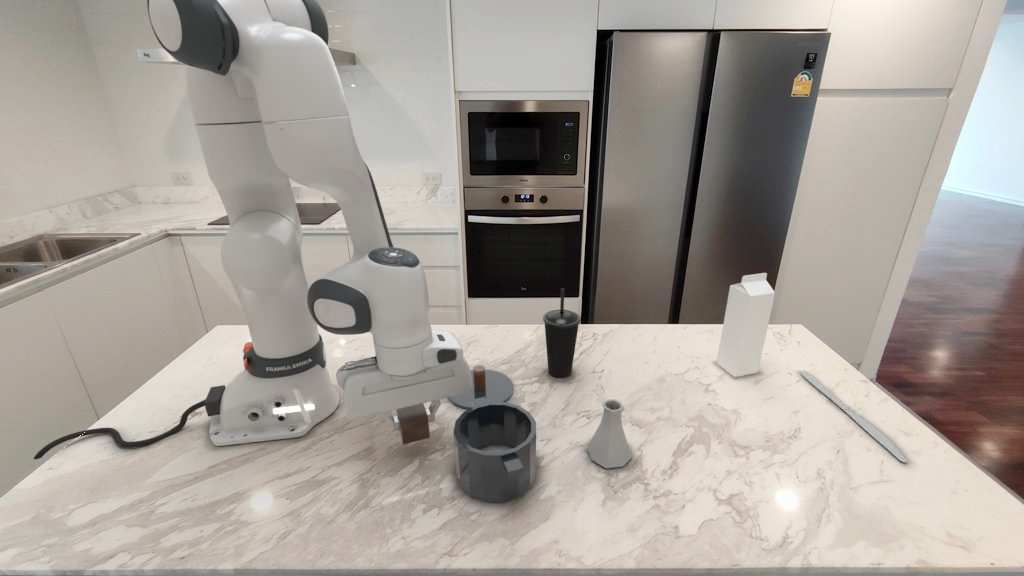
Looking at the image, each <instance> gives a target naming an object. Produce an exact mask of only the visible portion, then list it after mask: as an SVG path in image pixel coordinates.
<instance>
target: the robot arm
mask: <svg viewBox="0 0 1024 576" xmlns="http://www.w3.org/2000/svg"><path fill="white" fill-rule="evenodd" d="M146 4H147V5H146V6H147V12H148V17H149V22H150V26H151V28H152V31H153V34H154V35H155V38H156V39H157V41H158V43H159V45H160V46H161V47H162V48H163V50H164V51H165V52H166V53H167V54H169V56H171V57H172V58H173V59H174V60H176V61H177V62H179V63H181V64H184V65H185V77H186V87H187V95H188V99H189V105H190V110H191V114H192V119H193V123H194V127H195V131H196V134H197V137H198V141H199V144H200V148H201V152H202V156H203V160H204V163H205V166H206V170H207V174H208V177H209V179H210V181H211V182H212V184H213V185H214V187H215V189H216V192H217V193H218V196H219V198H220V200H221V203H222V205H223V208H224V209H225V213H226V215H227V218H228V222H229V230H228V231H227V232H226V234H225V236H224V237H223V240H222V242H221V247H220V257H221V264H222V268H223V270H224V271H223V272H224V273H225V275H226V276H227V278H228V279H229V281H230V283H231V285H232V288H233V290H234V292H235V295H236V297H237V299H238V301H239V303H240V305H241V307H242V311H243V313H244V317H245V321H246V324H247V327H248V332H249V335H250V339H251V341H248V342H247V341H246V342H245V344H244V345H243V349H242V352H243V358H242V361H243V368H244V369H243V370H242V371H241V372H240V373H238V374H237V375H236V376H235V377H234V378H233V379H231V380H230V381H229V383H227V385H225V384H222V385H216V386H211V387H210V388H209V391H208V393H207V395H206V397H205V399H203V400H201V401H199V402H197V403H194V404H192V405H191V406H189V407H188V408H187V409H186V410H185V411H184V412H183V413H182V415H181V417H180V421H179V423H178V424H177V425H175V426H174V427H172V428H171V429H170V430H168V431H165V432H163V433H161V434H159V435H157V436H153V437H151V438H147V439H143V440H136V441H126V440H124V439H123V438H122V436H121V434H120V432H119V431H118V430H117V429H115V428H113V427H98V428H91V429H85V430H80V431H76V432H72V433H70V434H66V435H63V436H61V437H59V438H57V439H54V440H53V441H50V442H49V443H48V444H46V445H44V447H42V448H40V450H39V451H38V452H37V453H36V454H35V456H34V457H33V460H39V459H40V458H43V457H44V455H46V454H47V453H48V452H49V451H51V450H52V449H54V448H55V447H57V446H59V445H61V444H63V443H65V442H68V441H70V440H73V439H77V438H81V437H85V436H91V435H97V434H109V435H111V436H112V437H113V439H114V442H115V443H116V445H118V446H119V447H121V448H127V449H129V448H138V447H143V446H147V445H148V446H149V445H152V444H155V443H157V442H159V441H162V440H164V439H166V438H169V437H170V436H172V435H174V434H176V433H178V432H179V431H180V430H182V429H183V428H184V427H185V426H186V425H187V422H188V418H189V416H190V415H191V414H192V413H193V412H195V411H197V410H199V409H200V408H203V407H204V408H205V411H206V415H207V417H212V418H211V421H210V423H209V431H208V433H209V438H210V442H211V443H212V444H213V445H214V446H216V447H223V446H232V445H242V444H251V443H259V442H268V441H277V440H278V441H279V440H285V439H295V438H301V437H303V436H305V435H307V434H308V433H309V432H310V431H311V430H312V429H313V427H314V426H315V425H317V424H319V423H321V422H322V421H324V420H325V419H327V418H328V417H329V416H330V415H332V414H334V412H335V411H336V409H337V408H338V406H339V404H340V401H341V396H340V394H339V392H338V391H337V389H336V387H335V385H334V383H333V381H332V379H331V376H330V374H329V373H330V372H329V371H328V368H327V359H328V358H327V353H326V348H325V343H324V342H323V337H322V335H321V333H320V332H319V329H318V326H319V327H320V328H321V329H322V330H323V331H326V332H327V333H330V334H333V335H339V336H350V335H351V336H353V335H362V334H366V333H370V334H371V335H372V341H373V347H374V354H375V356H370V357H366V358H362V359H358V360H349V361H347V362H345V363H344V365H342V366H340V367H339V368H338V369H337V371H336V375H335V377H336V383H337V385H338V387H339V388H340V389H342V391H343V392H342V393H343V394H342V395H343V407H344V414H345V416H346V417H347V418H349V419H350V420H357V419H360V418H365V417H370V416H375V415H379V414H381V416H382V418H383V419H384V420H385V421H386V422H387V423H388V424H389V425H390V430H391V432H396V431H397V432H398V431H400V422H399V418H398V416H397V415H394V416H393V414H392V411H397V409H401V408H405V407H409V406H414V405H418V404H422V403H423V404H425V403H430V405H429V406H428V408H425V409H426V412H427V415H428V423H433V422H436V413H437V411H439V408H440V407H441V404H442V403H441V400H444V399H448V397H453V396H457V395H461V394H466V393H468V392H469V391H470V389H471V388H472V378H471V373H470V371H471V369H470V365H469V363H468V361H467V359H466V357H465V355H464V350H463V346H462V344H461V342H460V340H459V338H458V337H457V336H456V335H455V334H454V332H452V331H446V330H437V329H432V326H431V323H430V321H429V311H430V298H429V291H428V283H427V278H426V274H425V270H424V266H423V263H422V262H421V260H420V258H419V257H418V255H416V254H415V253H414V252H412V251H410V250H408V249H405V248H402V247H395V246H394V244H393V242H392V239H391V235H390V231H389V229H388V225H387V221H386V218H385V215H384V211H383V209H382V204H381V201H380V196H379V194H378V190H377V188H376V187H377V186H376V184H375V181H374V178H373V176H372V173H371V171H370V169H369V166H368V165H367V163H366V162H365V160H364V159H363V157H362V155H361V152H360V150H359V147H358V144H357V141H356V138H355V134H354V130H353V126H352V122H351V116H350V112H349V107H348V103H347V100H346V96H345V91H344V88H343V85H342V82H341V77H340V75H339V72H338V69H337V66H336V64H335V61H334V58H333V55H332V53H331V51H330V48H329V46H328V44H329V39H330V36H329V26H328V25H329V24H328V22H327V18H326V14H325V12H324V10H323V8H322V6H321V4H320V3H319V2H318V0H146ZM290 180H292V181H293V182H295V183H297V184H299V185H301V186H304V187H306V188H309V189H313V190H316V191H319V192H320V191H321V192H323V193H325V194H327V195H328V196H330V197H331V198H333V200H334V201H335V202H336V203H337V205H338V206H339V208H340V210H341V211H340V212H341V213H342V216H343V217H342V218H343V220H344V223H345V225H346V229H347V231H348V235H349V238H350V241H351V244H352V249H353V251H352V256H351V258H350V260H349V261H347V262H346V263H344V264H342V265H340V266H338V267H336V268H334V269H332V270H330V271H329V272H327V273H326V274H323V275H321V276H320V277H318V278H317V279H316V280H315V281H313V283H312V284H311V285H310V286H309V285H308V281H307V277H306V272H305V268H304V264H303V258H302V245H303V244H302V243H303V236H304V232H303V227H302V222H301V219H300V214H299V210H298V206H297V203H296V199H295V195H294V191H293V188H292V184H291V181H290ZM84 432H85V433H84ZM82 434H83V435H82ZM80 435H81V436H80ZM79 436H80V437H79Z"/></svg>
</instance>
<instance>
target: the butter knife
mask: <svg viewBox="0 0 1024 576" xmlns="http://www.w3.org/2000/svg"><path fill="white" fill-rule="evenodd" d="M800 373H801V375H802V376H803V377H804V379H806V380H807V381H808V382H809V383H810V384H811V385H812V386H814V387H815V388H816V389H817V390H819V392H821V393H822V394H824V395H825V396H826V397H827V398H828V399H830V400H831V401H832V402H833V403H834V404H835V405H837V406H838V407H839V408H840V409H841V410H843V411H844V412H845V414H847V415H848V416H849V417H851V418H852V419H853V420H854V421H855V422H856V423H857V424H858V425H859V426H860V427H861V428H863V429H864V431H866V432H867V433H868V434H869V435H870V436H871V437H873V438H874V439H875V440H876V441H877V442H878V443H880V444H881V445H882V446H883V447H884V448H885V449H887V450H888V451H889V452H890V453H891V454H892V455H893V456H894V457H895V458H896V459H898V460H899V461H901V463H905V464H906V463H907V462H908V460H907V458H906V457H905V456H904V455H903V454H902V453H901V451H900V450H899V448H898V447H897V446H895V444H894V443H893V442H892V441H891V440H890V439H889V438H888V437H887V436H885V434H883V433H882V432H880V431H879V430H878V429H877V428H875V427H874V426H873V425H872V424H871V423H869V422H867V421H866V420H865V419H863V418H862V417H861V416H859V415H858V414H856V413H855V412H854V411H852V410H851V409H850V408H849V407H847V406H846V405H845V404H844V403H843V402H842V401H840V400H839V399H838V398H837V397H836V396H834V394H833V393H832V392H831V391H830V390H829V389H828V388H827V387H826V386H825V385H824V384H823V383H821V382H820V381H819V380H818V379H817V377H815V376H814V375H812V373H810V372H808V371H805V370H801V371H800Z"/></svg>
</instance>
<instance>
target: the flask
mask: <svg viewBox="0 0 1024 576" xmlns="http://www.w3.org/2000/svg"><path fill="white" fill-rule="evenodd" d="M601 406H602V407H603V414H602V417H601V421H600V423H599V425H598V426H597V428H596V431H595V432H594V434H593V435H592V437H591V438H590V440H589V442H588V444H587V446H586V451H587V453H588V455H589V457H590V460H591V461H593V462H595V463H596V464H598V465H599V466H601V467H603V468H604V469H613V468H622V467H624V466H625V465H626V464H627V463H628V462H629V461H631V460H632V458H633V454H632V451H631V449H630V445H629V443H628V441H627V440H628V439H627V438H626V434H625V431H624V427H623V422H622V411H623V410H624V408H625V407H624V404H623V403H622V401H620V400H618V399H615V398H610V399H609V398H607V399H605V400H604V401H603V402H602V403H601Z"/></svg>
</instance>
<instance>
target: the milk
mask: <svg viewBox="0 0 1024 576" xmlns="http://www.w3.org/2000/svg"><path fill="white" fill-rule="evenodd" d="M767 277H768V273H767V272H761V273H754V274H747V275H743V276H742V277H741V282H739V283H735V284H730V285H729V289H728V295H727V301H726V308H725V313H724V318H723V324H722V329H721V334H720V335H721V336H720V342H719V347H718V353H717V357H716V358H717V359H716V364H717V365H718V366H719V367H720V368H722V369H723V370H724V371H726V372H727V373H728V374H729V375H731V376H732V377H734V378H739V377H743V376H749V375H754V374H758V373H759V370H760V369H759V368H760V364H761V359H762V355H763V351H764V346H765V342H766V337H767V333H768V327H769V323H770V318H771V313H772V309H773V304H774V300H775V295H776V292H775V291H774V289H773V287H772V286H771V284H770V283H769V282H768V281H767Z"/></svg>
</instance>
